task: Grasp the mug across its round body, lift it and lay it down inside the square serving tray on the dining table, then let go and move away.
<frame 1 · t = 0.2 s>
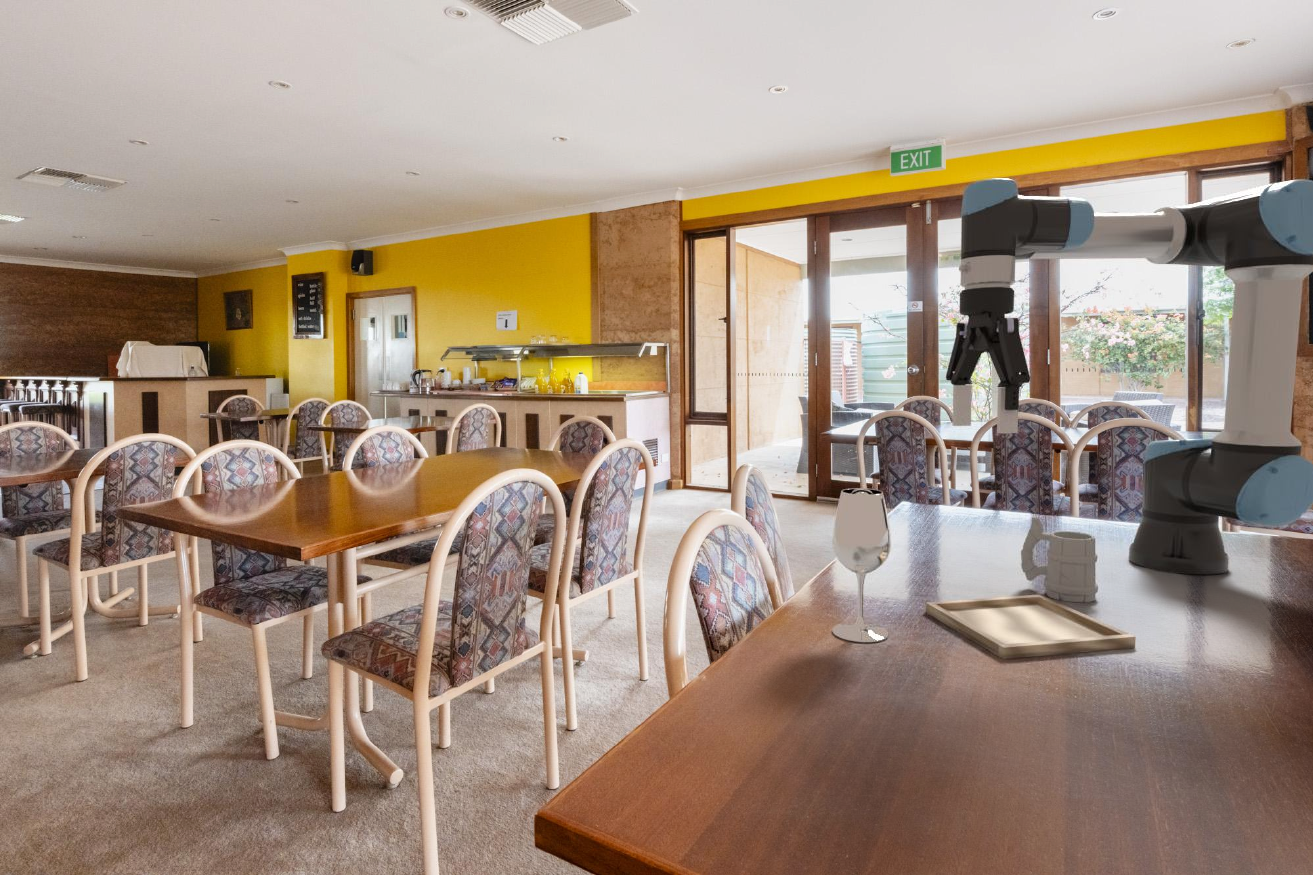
hand: (983, 429, 118), 27 cm above the table, tool pointing down, fingers open, 13 cm apart
wineglass: (860, 634, 108), on the table
mug: (1056, 594, 126), on the table
square serving tray: (1023, 628, 109), on the table
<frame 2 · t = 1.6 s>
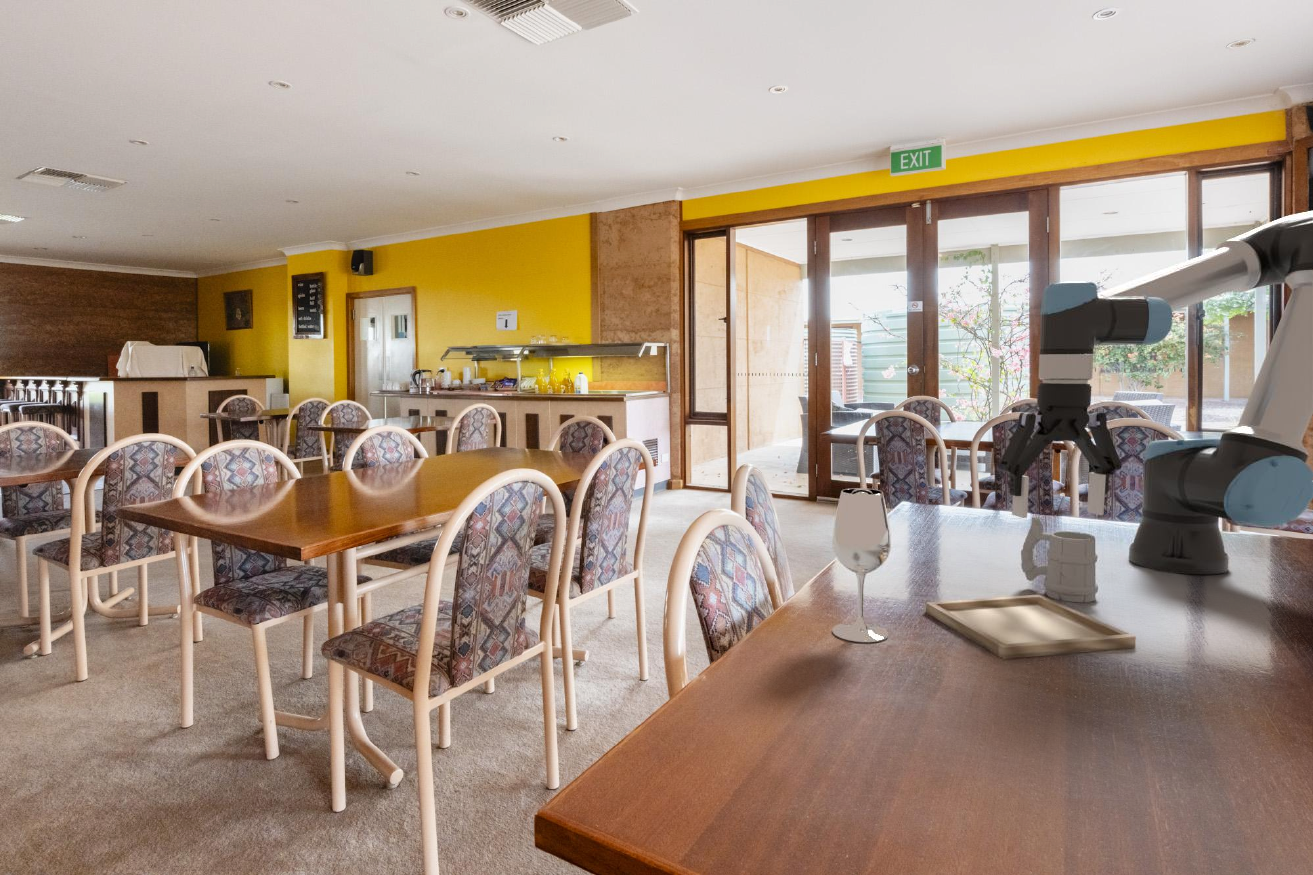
hand: (1057, 515, 124), 13 cm above the table, tool pointing down, fingers open, 13 cm apart
nothing on the table moved.
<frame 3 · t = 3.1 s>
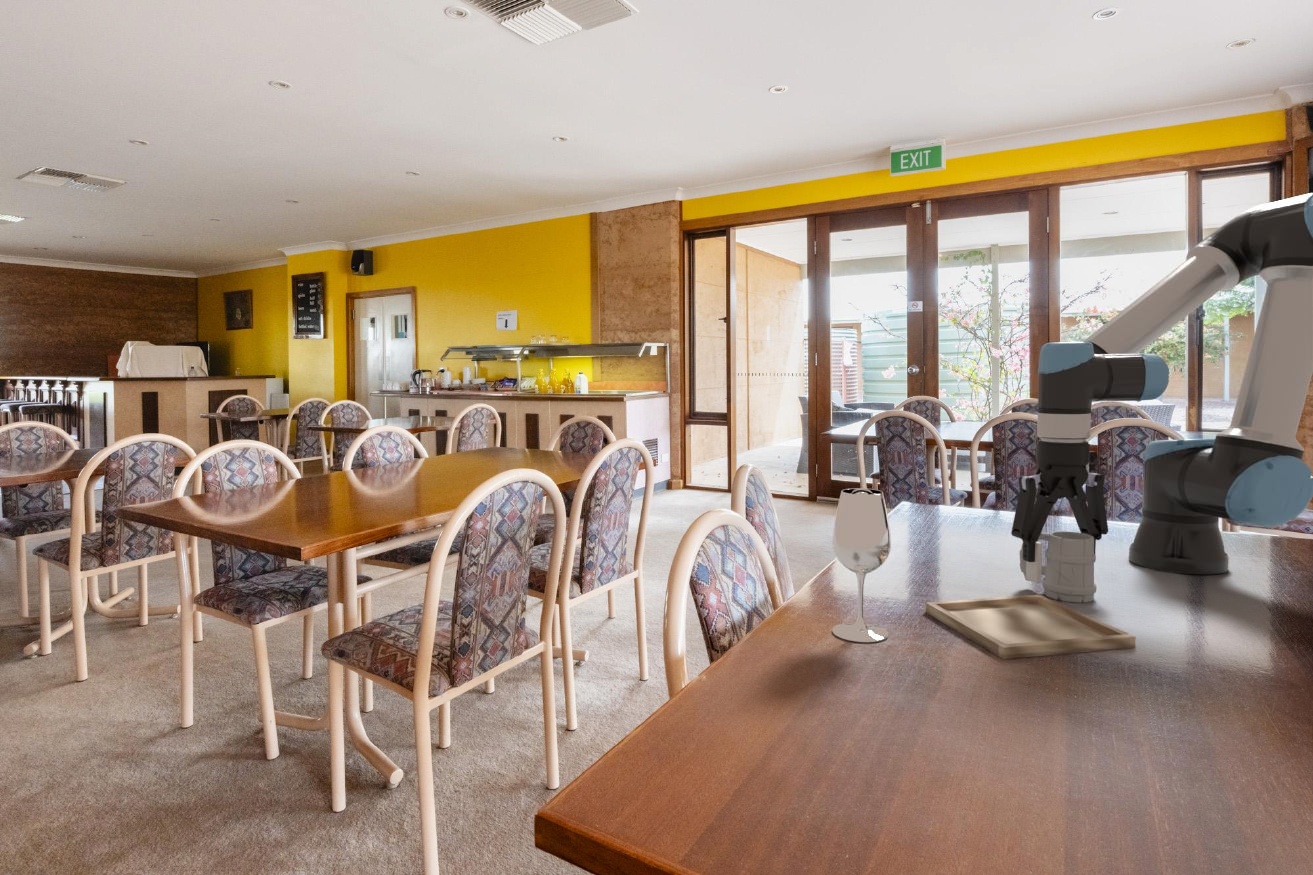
hand: (1058, 579, 125), 2 cm above the table, tool pointing down, fingers open, 8 cm apart
mug: (1055, 594, 125), on the table, touching gripper
everything else where it was.
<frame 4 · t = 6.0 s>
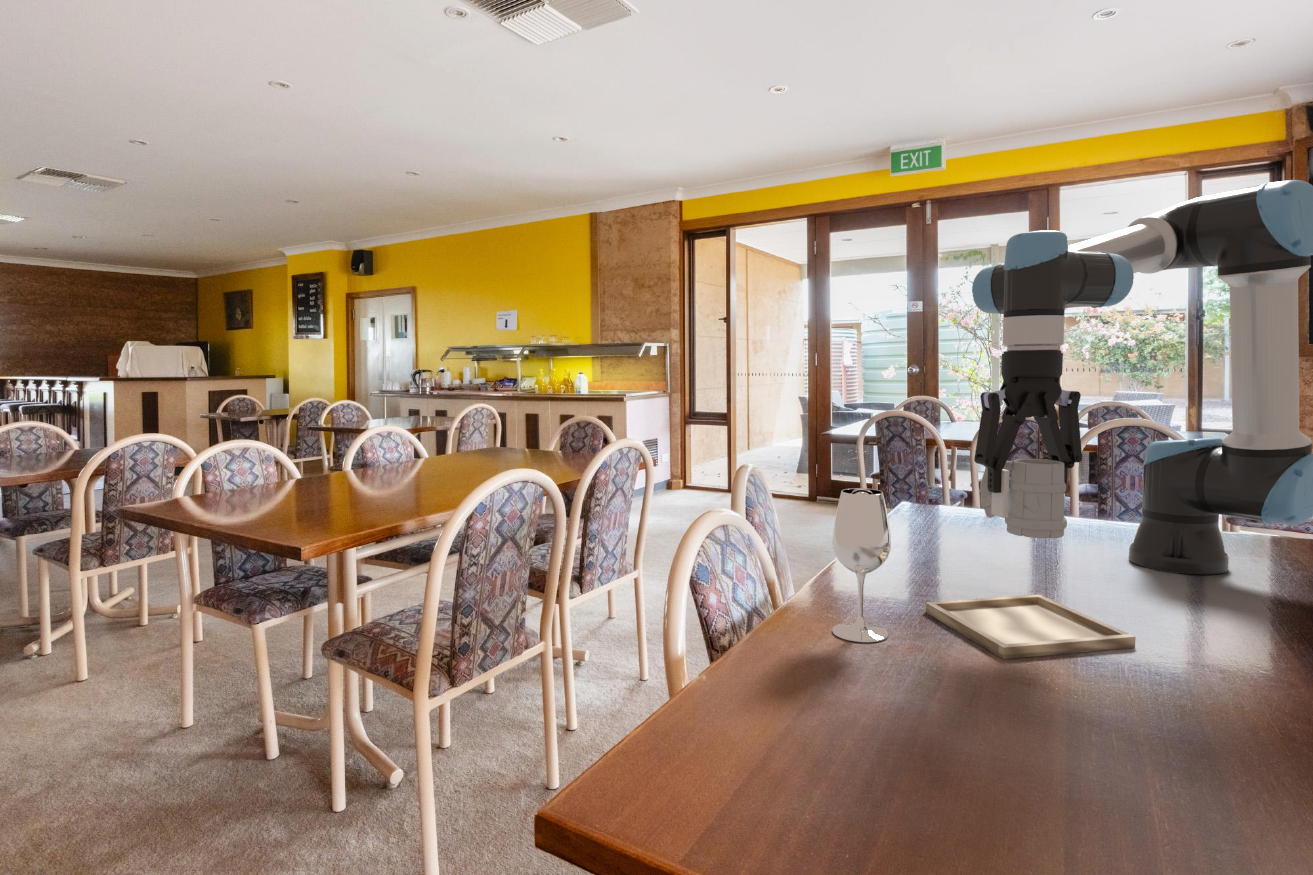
hand: (1026, 514, 108), 16 cm above the table, tool pointing down, fingers closed on mug, 7 cm apart
mug: (1019, 532, 108), point 14 cm above the table, touching gripper
everything else where it was.
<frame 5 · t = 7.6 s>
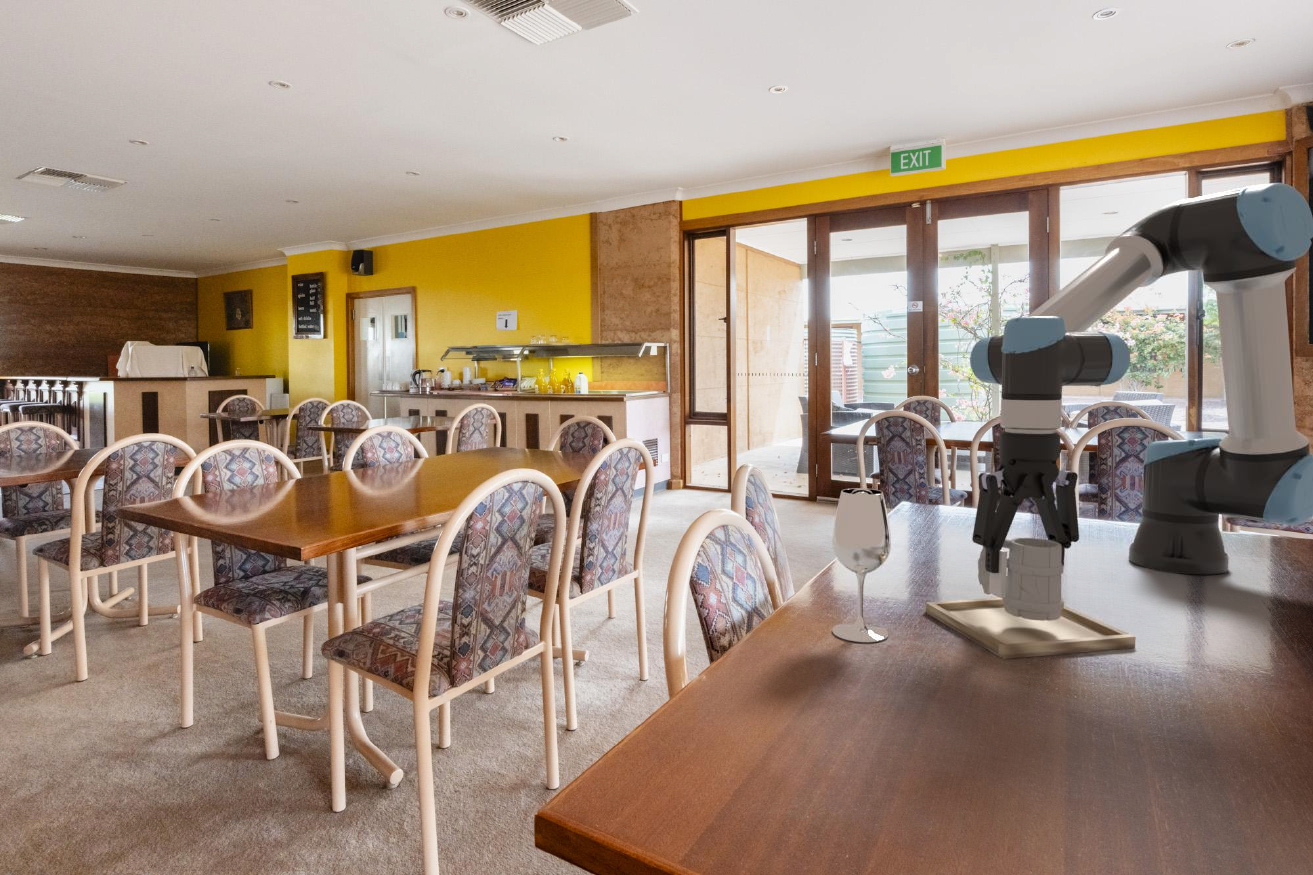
hand: (1023, 593, 108), 5 cm above the table, tool pointing down, fingers closed on mug, 7 cm apart
mug: (1017, 610, 109), point 3 cm above the table, touching gripper
everything else where it was.
when the fingers open (4 cm above the table, at t = 8.7 s): mug stays where it is, resting on square serving tray.
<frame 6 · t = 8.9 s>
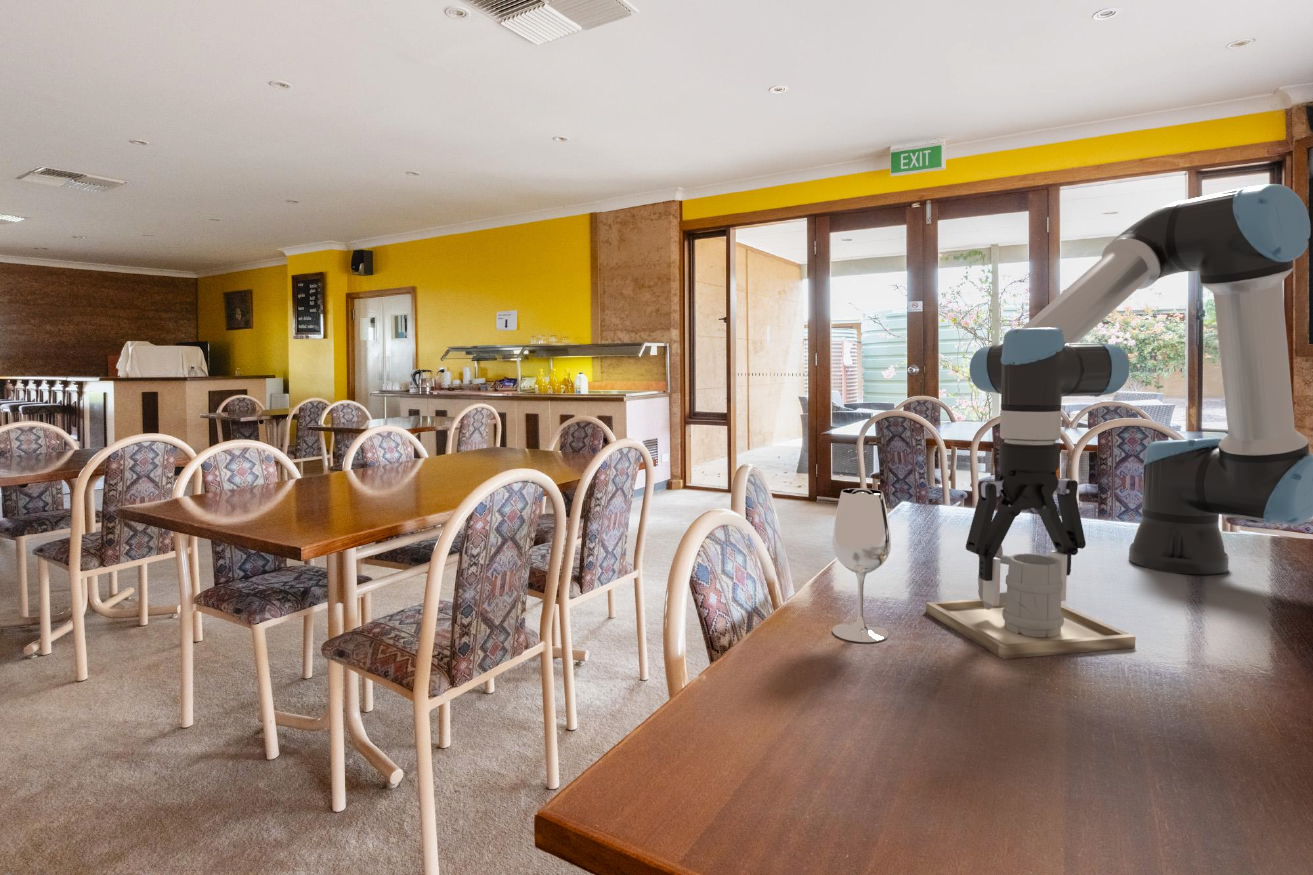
hand: (1024, 600, 109), 4 cm above the table, tool pointing down, fingers open, 9 cm apart
mug: (1017, 626, 109), resting on square serving tray
everything else where it was.
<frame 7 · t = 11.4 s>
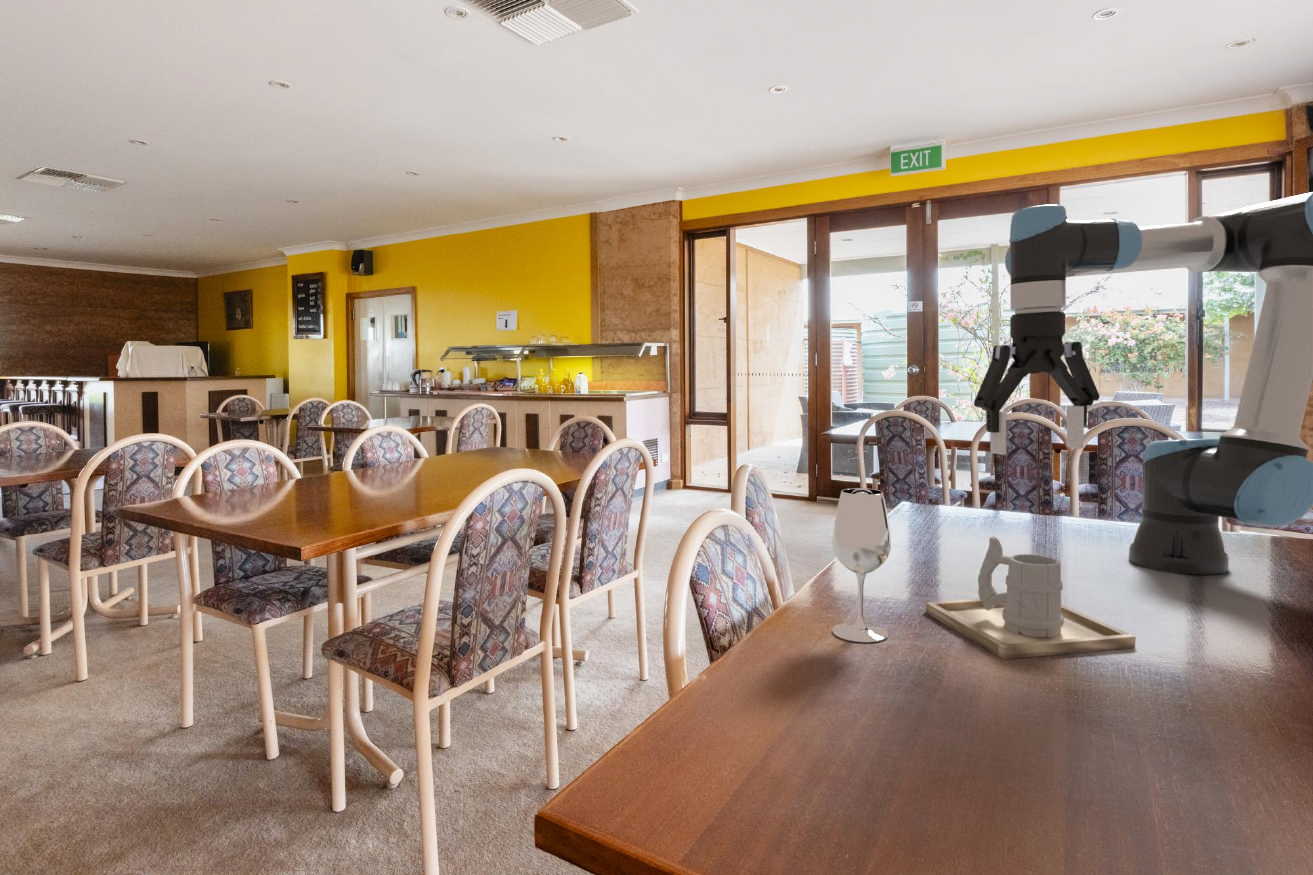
hand: (1037, 450, 120), 24 cm above the table, tool pointing down, fingers open, 13 cm apart
nothing on the table moved.
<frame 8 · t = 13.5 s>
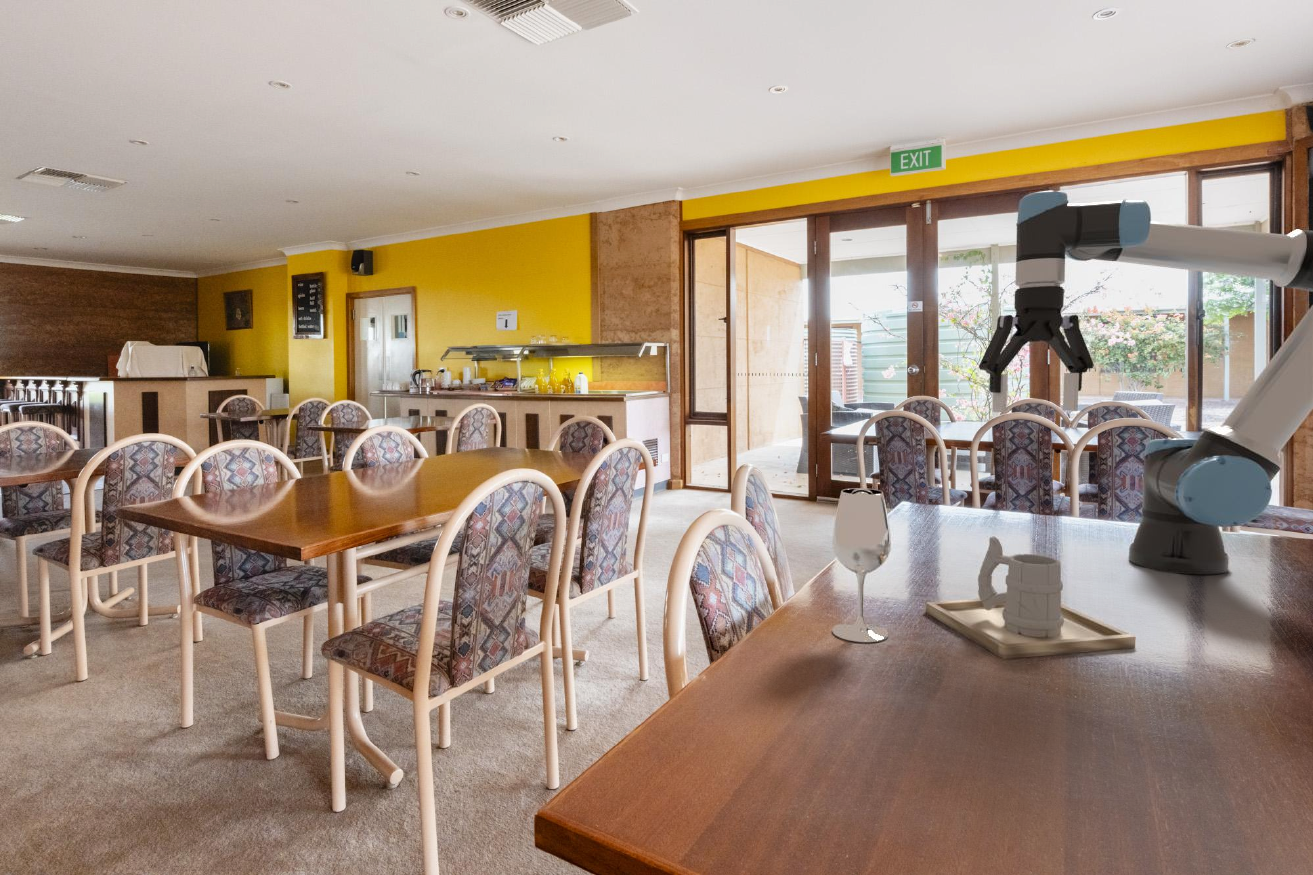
hand: (1035, 411, 134), 29 cm above the table, tool pointing down, fingers open, 13 cm apart
nothing on the table moved.
at the end: mug inside the target area on the square serving tray (0.8 cm from its centre), point 0.3 cm above the square serving tray's base; mug tilted 0°; the gripper is holding nothing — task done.
